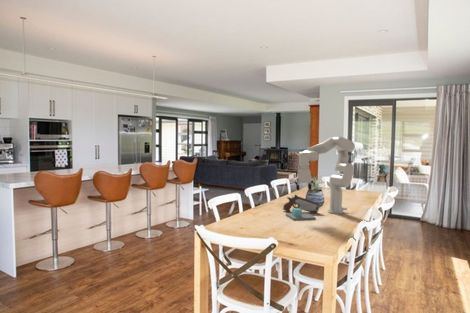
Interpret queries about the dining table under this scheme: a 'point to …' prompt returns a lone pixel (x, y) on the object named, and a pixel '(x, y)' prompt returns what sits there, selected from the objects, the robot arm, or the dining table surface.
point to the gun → (301, 204)
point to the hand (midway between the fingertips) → (303, 189)
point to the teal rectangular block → (296, 212)
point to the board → (304, 216)
